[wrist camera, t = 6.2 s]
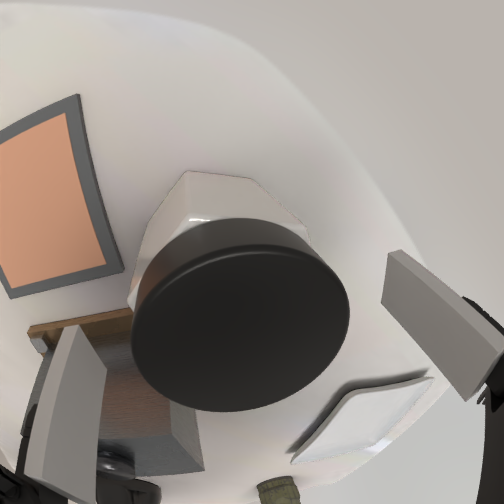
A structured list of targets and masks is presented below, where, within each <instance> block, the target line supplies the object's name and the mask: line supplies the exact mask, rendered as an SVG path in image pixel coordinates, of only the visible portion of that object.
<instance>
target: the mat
mask: <svg viewBox="0 0 504 504" xmlns="http://www.w3.org/2000/svg"><path fill="white" fill-rule="evenodd" d="M123 271H124V266H123V263H122V260H121V258H120V255H119V252H118V249H117V246H116V243H115V240H114V237H113V234H112V231H111V228H110V225H109V222H108V218H107V215H106V212H105V209H104V205H103V202H102V198H101V194H100V191H99V187H98V183H97V179H96V176H95V171H94V167H93V163H92V159H91V154H90V150H89V145H88V140H87V135H86V130H85V125H84V119H83V113H82V107H81V100H80V94H75V95H72V96H70V97H67V98H65V99H62V100H60V101H58V102H55V103H53V104H51V105H49V106H47V107H45V108H42V109H40V110H38V111H36V112H34V113H32V114H30V115H28V116H26V117H24V118H23V119H21V120H19V121H17V122H15V123H13V124H12V125H10V126H8V127H6V128H5V129H3V130H1V131H0V280H1V282H2V284H3V286H4V288H5V290H6V292H7V294H8V296H9V298H10V299H14V298H18V297H22V296H26V295H30V294H35V293H39V292H43V291H47V290H51V289H55V288H59V287H63V286H68V285H72V284H76V283H80V282H84V281H89V280H93V279H97V278H101V277H105V276H110V275H114V274H118V273H122V272H123Z"/></svg>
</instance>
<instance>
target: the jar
mask: <svg viewBox="0 0 504 504" xmlns="http://www.w3.org/2000/svg"><path fill="white" fill-rule="evenodd" d="M127 303H128V305H129V307H130V308H131V309H132V311H133V312H134V314H133V320H132V326H131V332H130V345H131V352H132V356H133V359H134V362H135V364H136V367H137V368H138V370H139V372H140V374H141V375H142V376H143V378H144V379H145V380H146V381H147V382H148V384H149V385H150V386H151V387H152V388H154V389H155V390H156V391H157V392H158V393H160V394H161V395H163V396H164V397H166V398H168V399H170V400H171V401H173V402H176V403H178V404H180V405H183V406H186V407H189V408H193V409H198V410H203V411H211V412H237V411H245V410H251V409H256V408H260V407H263V406H267V405H270V404H272V403H275V402H278V401H280V400H282V399H285V398H287V397H289V396H291V395H292V394H294V393H296V392H298V391H299V390H301V389H302V388H304V387H305V386H307V385H308V384H310V383H311V382H312V381H313V380H315V379H316V378H317V377H318V376H319V375H320V374H321V373H322V372H323V371H324V370H325V369H326V368H327V367H328V366H329V364H330V363H331V362H332V361H333V359H334V358H335V356H336V355H337V353H338V352H339V350H340V348H341V346H342V344H343V342H344V340H345V337H346V334H347V330H348V326H349V318H350V307H349V300H348V297H347V293H346V291H345V288H344V286H343V284H342V282H341V281H340V279H339V277H338V276H337V275H336V274H335V272H334V271H333V270H332V269H331V268H330V267H329V266H328V265H327V264H326V263H325V262H324V261H323V259H322V258H321V257H320V256H319V255H318V254H317V253H316V252H315V251H314V250H313V249H312V246H311V242H310V238H309V234H308V231H307V228H306V226H305V225H304V224H303V223H301V222H300V221H299V220H298V219H297V218H296V217H295V216H294V215H293V214H291V213H290V212H289V211H288V210H287V209H286V208H285V207H284V206H282V205H281V204H280V203H279V202H278V201H277V200H276V199H274V198H273V197H272V196H271V195H270V194H269V193H268V192H266V191H265V190H264V189H263V188H262V187H261V186H259V185H258V184H257V183H256V182H255V181H254V180H252V179H249V178H241V177H234V176H226V175H218V174H210V173H201V172H193V171H186V172H185V173H184V174H183V175H182V176H181V178H180V179H179V180H178V182H177V183H176V184H175V186H174V187H173V188H172V190H171V191H170V192H169V194H168V195H167V197H166V198H165V199H164V201H163V202H162V204H161V205H160V206H159V208H158V209H157V211H156V212H155V213H154V215H153V216H152V218H151V219H150V221H149V222H148V224H147V227H146V230H145V234H144V237H143V240H142V244H141V247H140V251H139V254H138V258H137V262H136V265H135V269H134V273H133V277H132V281H131V285H130V289H129V293H128V297H127Z"/></svg>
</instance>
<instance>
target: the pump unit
mask: <svg viewBox="0 0 504 504" xmlns="http://www.w3.org/2000/svg"><path fill="white" fill-rule="evenodd" d="M133 314H134V312H133V311H132V309H131V308H125V309H120V310H115V311H111V312H105V313H100V314H95V315H90V316H85V317H80V318H74V319H69V320H64V321H58V322H53V323H47V324H41V325H36V326H30V328H29V330H28V332H27V334H28V336H29V337H30V341H31V343H32V344H33V346H34V347H35V349H36V350H37V352H38V353H41V355H42V356H43V361H42V364H41V367H40V369H39V372H38V375H37V378H36V381H35V384H34V387H33V390H32V393H31V396H30V399H29V403H28V406H27V410H26V413H25V417H24V421H23V425H22V429H21V433H20V434H21V435H23V431H24V429H25V423H26V419H27V415H28V413H29V411H30V410H31V408H32V406H33V405H34V404H38V403H39V399H40V396H41V392H42V389H43V386H44V382H45V379H46V376H47V373H48V370H49V367H50V364H51V361H52V359H53V356H54V353H55V350H56V348H57V345H58V342H59V340H60V337H61V335H62V332H63V330H64V327H68V326H73V325H79V326H80V327H81V329H82V331H83V332H84V334H85V336H86V337H87V339H88V341H89V342H90V344H91V346H92V347H93V349H94V350H95V352H96V353H97V355H98V356H99V358H100V360H101V361H102V363H103V364H104V365H105V367H106V368H107V374H106V380H105V386H104V393H103V400H102V407H101V415H100V424H99V434H98V446H97V462H96V476H99V477H102V478H106V479H111V480H119V481H127V480H132V479H134V478H135V477H137V476H161V475H174V474H184V473H193V472H200V471H205V469H204V463H203V457H202V452H201V446H200V439H199V433H198V426H197V419H196V412H195V409H193V408H189V407H186V406H183V405H180V404H178V403H176V402H173V401H171V400H170V399H168V398H166V397H164V396H163V395H161V394H160V393H158V392H157V391H156V390H155V389H154V388H152V387H151V386H150V385H149V384H148V382H147V381H146V380H145V379H144V378H143V376H142V375H141V374H140V372H139V370H138V368H137V367H136V364H135V362H134V359H133V356H132V352H131V345H130V332H131V326H132V320H133Z"/></svg>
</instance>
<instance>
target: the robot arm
mask: <svg viewBox="0 0 504 504" xmlns="http://www.w3.org/2000/svg"><path fill="white" fill-rule="evenodd" d="M381 304H382V305H383V306H384V307H385V308H386V309H387V310H388V311H389V312H390V314H391V315H392V316H393V317H394V318H395V319H396V320H397V321H398V322H399V323H400V325H401V326H402V327H403V328H404V329H405V330H406V331H407V332H408V334H409V335H410V336H411V337H412V338H413V339H414V340H415V342H416V343H417V344H418V345H419V346H420V347H421V348H422V350H423V351H424V352H425V353H426V354H427V355H428V357H429V358H430V359H431V360H432V361H433V363H434V364H435V365H436V366H437V367H438V368H439V370H440V371H441V372H442V373H443V375H444V376H445V377H446V378H447V379H448V381H449V382H450V383H451V384H452V386H453V387H454V388H455V389H456V391H457V392H458V393H459V394H460V396H461V397H462V398H463V399H464V401H465V402H466V401H467V400H469V399H470V398H471V397H473V396H474V395H475V394H476V393H477V392H478V391H479V390H480V389H481V387H482V386H483V384H484V383H486V384H487V387H486V388H485V390H484V391H483V392H482V394H481V395H480V397H479V398H478V400H477V404H480V402H481V401H482V400H483V398H484V397H485V399H484V401H483V403H482V404H483V405H485V442H484V454H483V464H482V472H481V479H480V485H479V491H478V496H477V501H476V504H504V328H503V327H502V326H501V325H500V324H499V323H498V322H497V321H495V320H494V319H493V318H492V317H490V316H489V314H488V313H487V312H486V311H483V309H482V308H481V307H480V306H479V305H478V304H476V303H475V302H474V301H472V300H470V299H468V298H466V297H464V296H463V297H460V296H459V295H458V294H457V293H455V292H454V291H453V290H452V289H451V288H450V287H448V286H447V285H446V284H445V283H444V282H442V281H441V280H440V279H439V278H437V277H436V276H435V275H434V274H432V273H431V272H430V271H429V270H427V269H426V268H425V267H424V266H422V265H421V264H420V263H418V262H417V261H416V260H414V259H413V258H412V257H410V256H409V255H408V254H407V253H405V252H404V251H402V250H397V251H394V252H391V253H388V258H387V266H386V274H385V281H384V287H383V293H382V299H381ZM106 374H107V368H106V367H105V365H104V364H103V363H102V361H101V360H100V358H99V356H98V355H97V353H96V352H95V350H94V349H93V347H92V346H91V344H90V342H89V341H88V339H87V337H86V336H85V334H84V332H83V331H82V329H81V327H80V326H79V325H73V326H68V327H64V330H63V332H62V335H61V337H60V340H59V342H58V345H57V348H56V350H55V353H54V356H53V359H52V361H51V364H50V367H49V370H48V373H47V376H46V379H45V382H44V386H43V389H42V392H41V396H40V399H39V403H38V404H34V405H33V406H32V408H31V410H30V411H29V413H28V415H27V419H26V423H25V429H24V431H23V435H22V436H23V438H22V440H21V444H20V449H19V455H18V460H17V466H16V471H15V474H14V473H12V472H11V471H9V470H8V469H6V468H5V467H3V466H2V465H1V464H0V504H68V499H70V500H72V501H74V502H76V503H78V504H96V502H97V504H160V502H161V498H162V496H161V489H160V488H159V487H158V486H156V485H154V484H151V483H148V482H144V481H140V480H136V479H132V480H127V481H119V480H111V479H106V478H102V477H99V476H97V477H96V462H97V446H98V434H99V424H100V415H101V407H102V400H103V393H104V386H105V380H106Z"/></svg>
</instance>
